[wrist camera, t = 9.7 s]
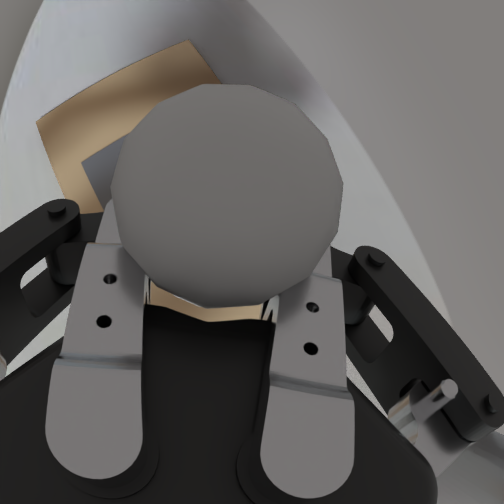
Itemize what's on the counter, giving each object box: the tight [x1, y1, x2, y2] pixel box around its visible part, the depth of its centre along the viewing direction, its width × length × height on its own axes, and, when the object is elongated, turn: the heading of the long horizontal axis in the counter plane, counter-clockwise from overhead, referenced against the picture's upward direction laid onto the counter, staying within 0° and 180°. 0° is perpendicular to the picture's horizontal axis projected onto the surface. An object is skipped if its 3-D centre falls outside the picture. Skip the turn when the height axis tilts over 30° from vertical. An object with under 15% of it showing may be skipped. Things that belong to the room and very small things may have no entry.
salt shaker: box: [111, 84, 343, 309], centre depth 11 cm, size 6×6×13 cm
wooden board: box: [36, 40, 262, 322], centre depth 20 cm, size 20×13×1 cm, turn 31°
